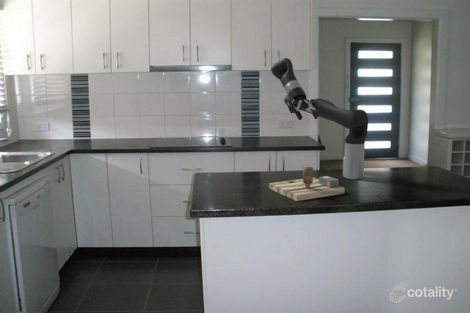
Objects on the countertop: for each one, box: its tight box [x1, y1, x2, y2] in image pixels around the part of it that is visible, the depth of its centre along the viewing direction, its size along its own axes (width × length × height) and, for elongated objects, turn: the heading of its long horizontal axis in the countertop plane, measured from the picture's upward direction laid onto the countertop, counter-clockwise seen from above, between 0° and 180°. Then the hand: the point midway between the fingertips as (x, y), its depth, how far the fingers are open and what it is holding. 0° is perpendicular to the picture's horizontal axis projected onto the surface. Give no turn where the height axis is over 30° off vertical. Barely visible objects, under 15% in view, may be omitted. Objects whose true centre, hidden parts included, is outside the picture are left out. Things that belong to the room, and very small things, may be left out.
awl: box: [302, 166, 314, 189], centre depth 179 cm, size 4×4×11 cm
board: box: [268, 176, 345, 202], centre depth 184 cm, size 22×24×3 cm
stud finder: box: [318, 175, 340, 188], centre depth 184 cm, size 8×4×3 cm, turn 26°
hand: (309, 118), depth 191 cm, fingers open, 8 cm apart
